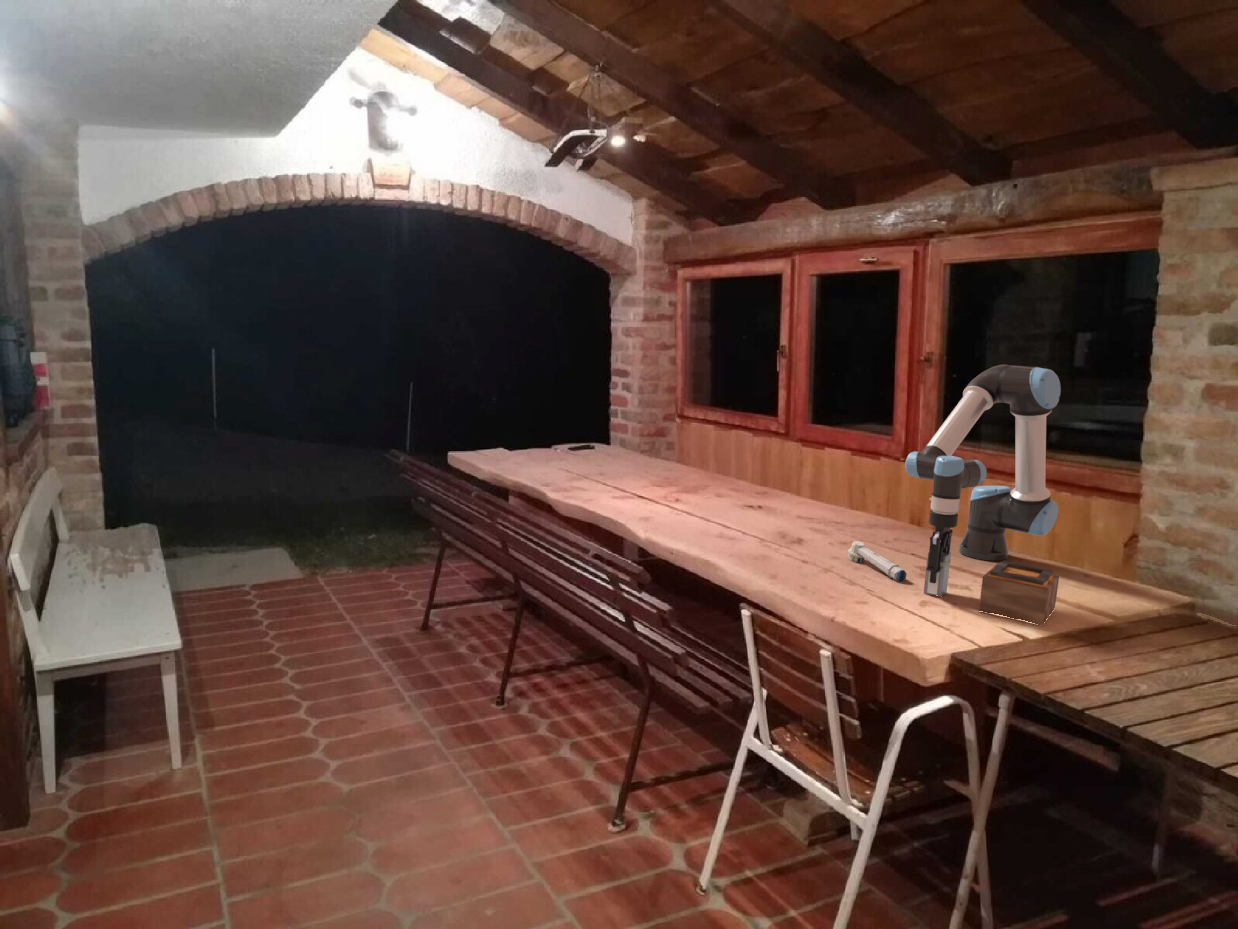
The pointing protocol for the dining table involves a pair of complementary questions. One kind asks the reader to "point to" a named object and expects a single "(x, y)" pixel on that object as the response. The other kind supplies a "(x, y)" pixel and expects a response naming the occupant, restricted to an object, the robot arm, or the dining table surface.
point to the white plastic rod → (875, 561)
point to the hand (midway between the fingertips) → (935, 590)
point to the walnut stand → (1019, 592)
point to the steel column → (943, 574)
